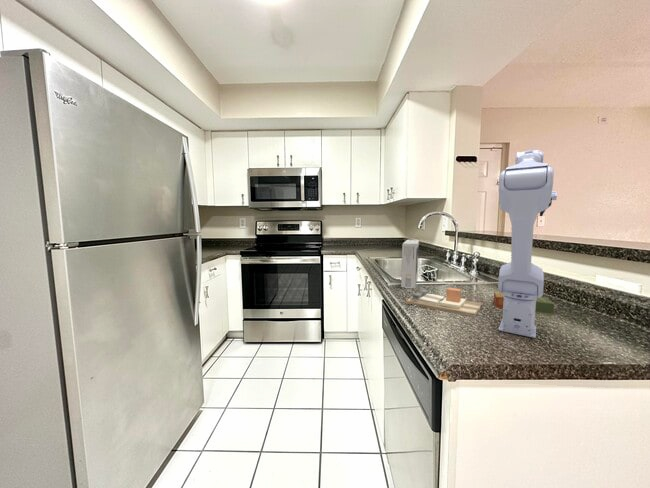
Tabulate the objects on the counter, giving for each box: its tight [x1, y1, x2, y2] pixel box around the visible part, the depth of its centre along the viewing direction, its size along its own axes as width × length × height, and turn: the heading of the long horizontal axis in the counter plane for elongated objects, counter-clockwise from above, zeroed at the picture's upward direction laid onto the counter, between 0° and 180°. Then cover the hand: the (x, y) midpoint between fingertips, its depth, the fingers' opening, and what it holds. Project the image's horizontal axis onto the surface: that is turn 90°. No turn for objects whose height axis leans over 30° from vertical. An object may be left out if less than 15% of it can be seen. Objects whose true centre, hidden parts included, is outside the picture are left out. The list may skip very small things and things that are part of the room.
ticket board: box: [404, 289, 483, 318], centre depth 97 cm, size 14×22×3 cm, turn 52°
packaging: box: [400, 239, 420, 289], centre depth 134 cm, size 30×6×20 cm, turn 160°
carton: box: [493, 291, 556, 316], centre depth 95 cm, size 8×16×4 cm, turn 63°
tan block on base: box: [440, 287, 467, 309], centre depth 95 cm, size 10×6×5 cm, turn 142°
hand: (527, 214), depth 95 cm, fingers open, 7 cm apart
